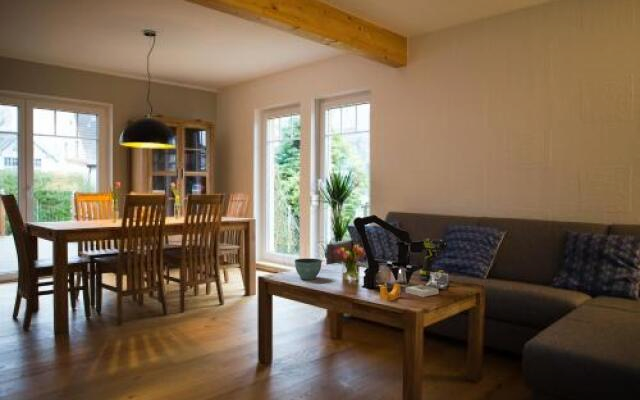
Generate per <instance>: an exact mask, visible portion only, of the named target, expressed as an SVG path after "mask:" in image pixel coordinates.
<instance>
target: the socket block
mask: <svg viewBox="0 0 640 400" xmlns="http://www.w3.org/2000/svg"><path fill="white" fill-rule="evenodd" d="M385 283H386V286H385V287H387V289H391V290H393V287H394V284H399V280H395V281H390V282H385ZM417 285H419V284H418V283H414V282H410V281H409V283H407V281H406V282H405V285H401V284H400V292H406V287H412V286H417Z"/></svg>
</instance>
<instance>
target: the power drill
mask: <svg viewBox="0 0 640 400" xmlns="http://www.w3.org/2000/svg"><path fill="white" fill-rule="evenodd" d="M419 241H421V242H422V248H423V251H425V252H426V254H425V257H424V260H423V264H422V268H421V269H419V277H418V279H419V280H420V281H422V282H428V281H429V279H430V272H433V273H443V274H446V272H444V270H442V269H437V268H435V269H433V262H434V259H435V258H439V254H440V253H441V252H442V251H443V250H447V249H446V248H450V244H449V243H447V241H446V240H443V239H440V238H439V239H438V238H427V237H426V238H420V240H419Z"/></svg>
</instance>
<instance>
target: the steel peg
mask: <svg viewBox="0 0 640 400" xmlns="http://www.w3.org/2000/svg"><path fill="white" fill-rule="evenodd" d="M405 271H407V270H406V269H405V268H402V269H400V268H399V270H398V281H399V284H401V285H405V282H407V281H406V274H405Z"/></svg>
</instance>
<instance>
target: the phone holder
mask: <svg viewBox="0 0 640 400" xmlns="http://www.w3.org/2000/svg"><path fill="white" fill-rule="evenodd" d="M422 285H423V286H428V287H432V288H436V289H440V290H443V291H446V288H447V287H450V285H451V281H449V274H448V273H445V274H443V273H433V272H430V279H429V281H427V283H426V282H424V283H423V284H422Z"/></svg>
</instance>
